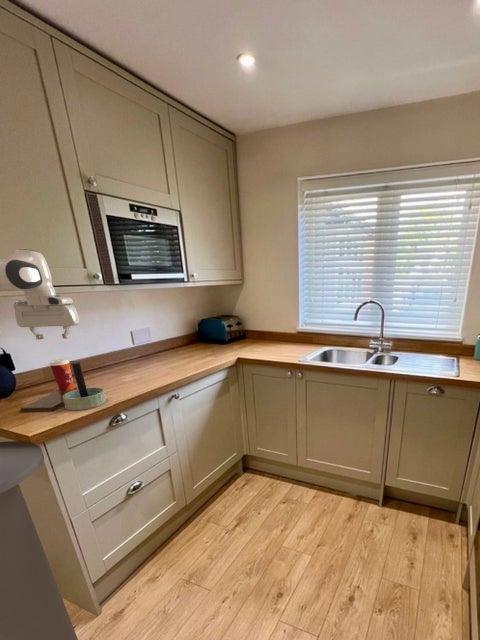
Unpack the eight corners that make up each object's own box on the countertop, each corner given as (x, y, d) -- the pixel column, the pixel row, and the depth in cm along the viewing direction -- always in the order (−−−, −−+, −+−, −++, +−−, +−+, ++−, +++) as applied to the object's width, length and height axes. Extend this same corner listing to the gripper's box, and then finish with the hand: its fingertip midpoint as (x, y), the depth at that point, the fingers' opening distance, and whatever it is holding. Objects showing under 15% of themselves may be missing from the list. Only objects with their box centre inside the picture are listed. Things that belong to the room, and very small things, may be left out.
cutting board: (52, 411, 130) (51, 407, 129) (21, 411, 129) (20, 408, 129) (83, 394, 148) (83, 391, 148) (56, 394, 148) (55, 391, 148)
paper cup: (76, 390, 153) (68, 361, 148) (56, 393, 150) (47, 363, 145) (77, 386, 160) (69, 357, 155) (58, 388, 156) (49, 359, 151)
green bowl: (93, 410, 130) (90, 398, 128) (57, 411, 130) (53, 399, 128) (113, 397, 143) (110, 387, 142) (80, 398, 143) (77, 387, 141)
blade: (96, 405, 134) (86, 364, 128) (70, 408, 131) (58, 366, 125) (100, 398, 142) (91, 359, 136) (76, 401, 139) (65, 361, 133)
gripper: (4, 301, 114) (17, 341, 118) (65, 299, 115) (76, 339, 119) (19, 300, 120) (30, 338, 124) (76, 298, 121) (86, 336, 125)
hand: (53, 338), depth 122 cm, fingers open, 8 cm apart
